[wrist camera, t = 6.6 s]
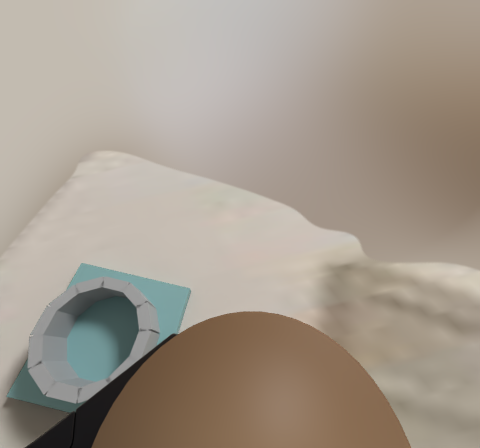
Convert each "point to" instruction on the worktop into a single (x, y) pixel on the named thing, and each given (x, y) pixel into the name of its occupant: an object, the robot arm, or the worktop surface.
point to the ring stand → (96, 335)
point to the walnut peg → (251, 392)
